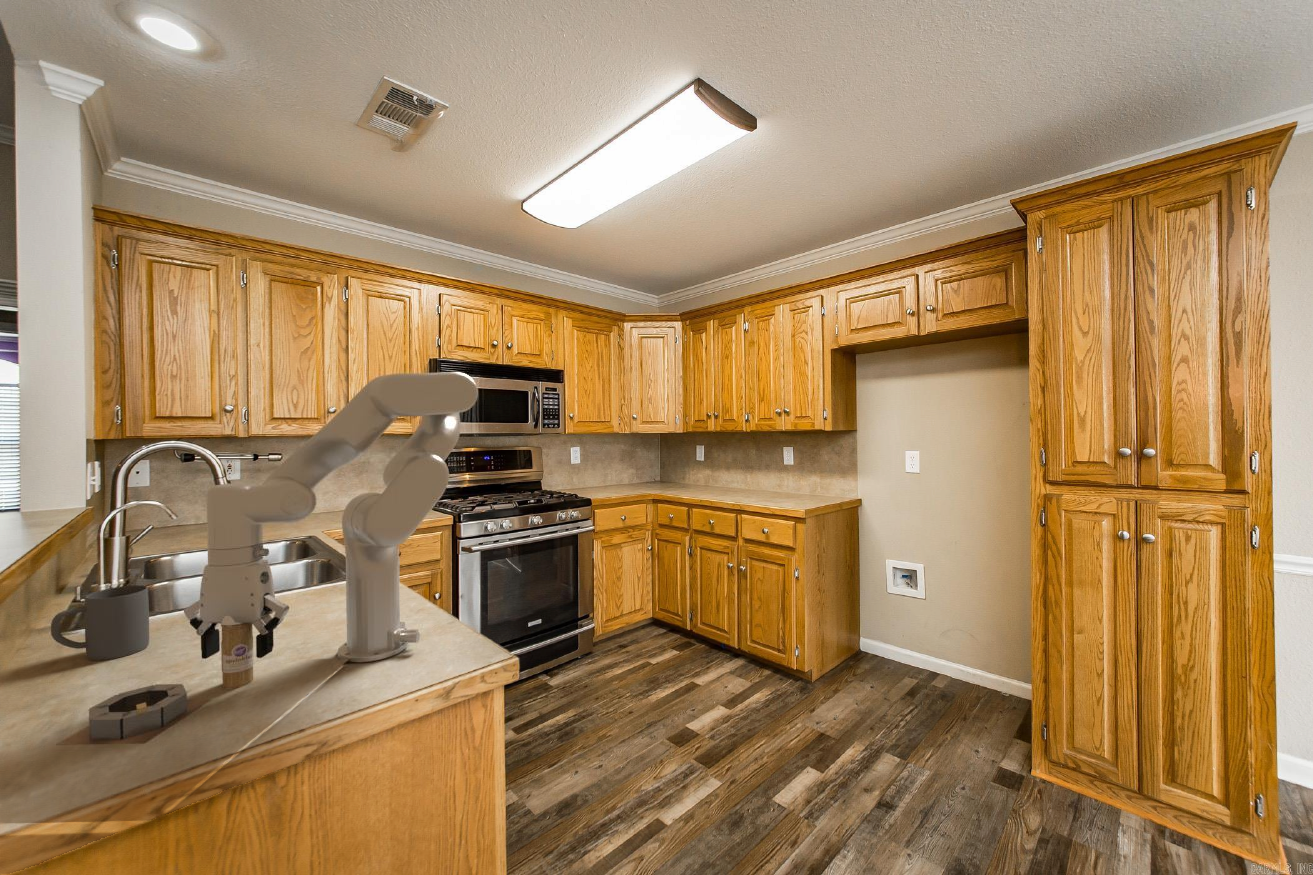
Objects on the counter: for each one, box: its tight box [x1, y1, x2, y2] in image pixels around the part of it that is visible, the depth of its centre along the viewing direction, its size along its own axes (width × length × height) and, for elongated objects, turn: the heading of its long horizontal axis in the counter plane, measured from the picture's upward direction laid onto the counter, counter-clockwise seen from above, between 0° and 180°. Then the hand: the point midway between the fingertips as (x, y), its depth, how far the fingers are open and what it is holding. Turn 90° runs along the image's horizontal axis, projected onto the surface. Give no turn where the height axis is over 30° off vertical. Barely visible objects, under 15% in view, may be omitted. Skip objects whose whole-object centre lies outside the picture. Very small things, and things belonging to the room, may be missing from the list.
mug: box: [50, 584, 150, 661], centre depth 108 cm, size 14×9×12 cm
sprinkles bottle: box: [219, 616, 255, 690], centre depth 95 cm, size 5×5×13 cm
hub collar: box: [88, 683, 188, 741], centre depth 83 cm, size 10×10×4 cm
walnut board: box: [56, 699, 212, 746], centre depth 83 cm, size 12×12×1 cm
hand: (237, 654), depth 95 cm, fingers open, 8 cm apart
